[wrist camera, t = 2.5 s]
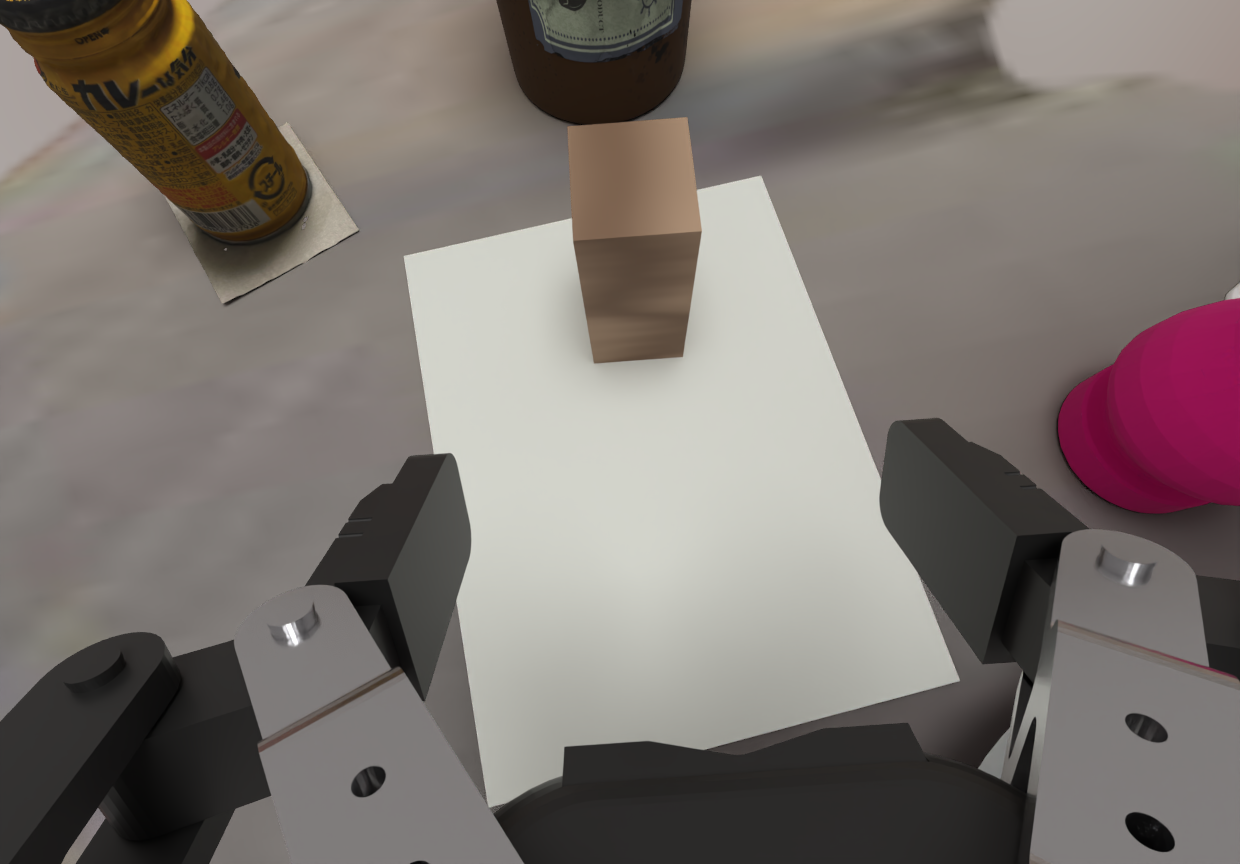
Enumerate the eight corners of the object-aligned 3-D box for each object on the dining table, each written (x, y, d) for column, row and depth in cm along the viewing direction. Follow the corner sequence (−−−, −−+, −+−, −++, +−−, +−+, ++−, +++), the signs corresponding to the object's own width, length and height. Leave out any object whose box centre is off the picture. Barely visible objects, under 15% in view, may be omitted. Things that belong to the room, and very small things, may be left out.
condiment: (289, 125, 33) (105, -143, 22) (360, 232, 31) (195, -6, 19) (162, 191, 32) (-102, -56, 21) (226, 307, 30) (-32, 102, 18)
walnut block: (672, 264, 29) (686, 110, 20) (682, 357, 27) (701, 231, 19) (588, 271, 29) (567, 119, 20) (593, 363, 28) (572, 240, 19)
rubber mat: (759, 181, 31) (760, 175, 30) (954, 679, 23) (959, 681, 23) (406, 261, 30) (403, 256, 30) (490, 805, 22) (488, 807, 22)
